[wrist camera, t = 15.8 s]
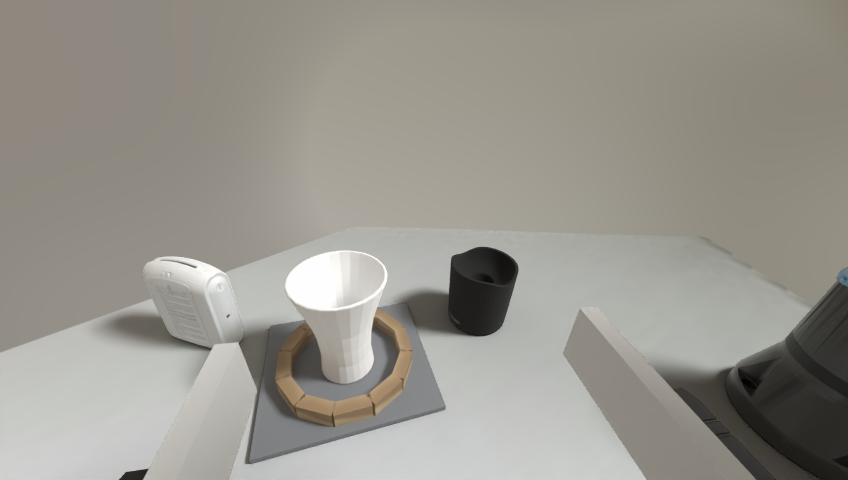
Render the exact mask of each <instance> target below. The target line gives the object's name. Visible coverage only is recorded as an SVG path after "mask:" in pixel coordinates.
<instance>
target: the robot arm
mask: <svg viewBox="0 0 848 480" xmlns="http://www.w3.org/2000/svg"><path fill="white" fill-rule="evenodd" d="M836 278H837V282H836V283H835V284H834V285H833V286H832V287H831V288H830V289H829V290H828V292H827V293H826V294H825V295H824V296H823V297H822V298H821V299H820V300H819V302H818V303H817V304H816V305H815V306H814V307H813V308H812V309H811V310H810V311H809V313H808V314H807V315H806V316H805V317H804V318H803V319H802V320H801V321H800V322H799V324H798V325H797V326H796V327H795V328H794V329H793V330H792V332H791V333H790V334H789V335H788V336H787V337H786V338H785V339H784V340H783V341H782V342H779V343H777V344H775V345H773V346H771V347H769V348H767V349H764V350H762V351H760V352H758V353H756V354H754V355H751V356H749V357H747V358H745V359H743V360H741V361H740V362H739V363H737V364H736V365H735V367H734V368H733V369H732V370H731V372H730V373H729V374H728V376H727V378H726V390H727V393H728V395H729V398H730V400H731V401H732V403H733V405H734V406H735V408H736V409H737V411H738V412H739V413H740V415H741V416H742V417H743V418H744V419H745V420H746V422H747V423H748V424H749V425H750V426H751V427H752V428H753V429H754V430H755V431H756V432H757V433H758V434H759V435H760V436H761V437H763V438H764V439H765V440H766V441H767V442H768V443H770V444H771V445H772V446H773V447H774V448H776V449H777V450H778V451H780V452H781V453H782V454H784V455H785V456H786V457H788V458H789V459H791V460H792V461H794V462H795V463H797V464H798V465H800V466H801V467H803V468H804V469H806V470H808V471H809V472H811V473H813V474H814V475H816V476H818V477H820V478H821V479H823V480H848V267H847V268H844V269H843V270H841V271H840V272H839V273H838V275H837V277H836ZM563 354H564V356H565V357H566V359H567V360H568V362H569V363H570V365H571V366H572V368H573V369H574V371H575V372H576V374H577V375H578V377H579V378H580V380H581V381H582V383H583V384H584V386H585V387H586V389H587V390H588V392H589V393H590V395H591V396H592V398H593V399H594V401H595V402H596V404H597V405H598V407H599V408H600V410H601V411H602V413H603V415H604V416H605V418H606V419H607V421H608V422H609V424H610V425H611V427H612V428H613V430H614V431H615V433H616V434H617V436H618V437H619V439H620V440H621V442H622V443H623V445H624V446H625V448H626V449H627V451H628V452H629V454H630V455H631V457H632V458H633V460H634V461H635V463H636V464H637V466H638V467H639V469H640V470H641V472H642V473H643V475H644V476H645V478H646V479H647V480H776V479H775V478H774V477H773V476H772V475H771V474H770V473H769V472H768V471H767V470H766V469H765V468H764V467H763V466H762V465H761V464H760V463H759V462H758V461H757V460H756V459H755V458H754V457H753V456H752V455H751V454H750V453H749V451H748V450H747V449H746V448H745V447H744V446H743V445H742V444H741V443H740V442H739V441H738V440H737V439H736V438H735V437H734V436H733V435H730V433H729V431H728V430H727V429H726V428H725V427H724V426H723V425H722V424H721V423H720V422H718V421H717V420H716V417H715V416H714V415H713V414H712V413H711V412H710V411H709V410H708V409H707V408H706V407H705V406H704V405H703V404H702V403H701V402H700V401H699V400H697V399H696V398H694V397H693V396H692V395H690V394H689V393H687V392H686V391H685V390H683V389H682V388H679V389H672V388H671V387H670V386H669V385H668V383H667V382H666V381H665V380H664V379H663V378H662V377H661V376H660V375H659V374H658V373H657V372H656V370H655V369H654V368H653V367H652V366H651V365H650V364H649V363H648V362H647V361H646V360H645V359H644V357H643V356H642V355H641V354H640V353H639V352H638V351H637V350H636V349H635V348H634V347H633V346H632V344H631V343H630V342H629V341H628V340H627V339H626V338H625V337H624V336H623V335H622V334H621V333H620V331H619V330H618V329H617V328H616V327H615V326H614V325H613V324H612V323H611V322H610V321H609V320H608V318H607V317H606V316H605V315H604V314H603V313H602V312H601V311H600V310H599V309H598V308H597V307H588V308H580V309H579V312H578V315H577V317H576V320H575V323H574V325H573V328H572V331H571V333H570V336H569V339H568V341H567V344H566V347H565V349H564V352H563ZM256 393H257V389H256V386H255V384H254V381H253V379H252V376H251V374H250V371H249V369H248V366H247V363H246V361H245V358H244V356H243V353H242V351H241V348H240V346H239V343H238V342H235V343H225V344H215V345H214V346H213V348H212V350H211V352H210V354H209V356H208V357H207V359H206V361H205V363H204V365H203V367H202V369H201V371H200V373H199V374H198V376H197V378H196V380H195V382H194V384H193V386H192V388H191V390H190V392H189V393H188V395H187V397H186V399H185V401H184V403H183V405H182V407H181V409H180V411H179V412H178V414H177V416H176V418H175V420H174V422H173V424H172V426H171V428H170V430H169V431H168V433H167V435H166V437H165V439H164V441H163V443H162V445H161V447H160V449H159V450H158V452H157V454H156V456H155V458H154V460H153V462H152V464H151V466H150V468H149V469H144V470H137V471H131V472H126V473H125V474H124V475H123V476H122V477H121V478H120V479H119V480H229V476H230V473H231V470H232V467H233V464H234V461H235V458H236V455H237V452H238V449H239V446H240V443H241V440H242V436H243V433H244V430H245V427H246V424H247V421H248V418H249V415H250V412H251V409H252V406H253V403H254V399H255V396H256Z"/></svg>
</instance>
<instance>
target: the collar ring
mask: <svg viewBox="0 0 848 480" xmlns="http://www.w3.org/2000/svg"><path fill="white" fill-rule="evenodd" d="M372 327H377V328H379V329H380V330H382V331H383V332H384V333H385V334H386V335H388V336H389V337H390V338H391V339H393V340H394V341H395V344H396V348H397V351H398V355H399V356H398V359H397V362H396V364H395V367H394V370H393V372H392V374H391V375H390V376H389V377H388V378H386V379H385V380H384V381H383V382H382V383H380V384H379V385H378V386H377V387H376V388H374V389H373V390H372V391H371V392H370V393H368V394H365V395H361V396H357V397H353V398H349V399H345V400H341V401H336V402H334V401H330V400H326V399H322V398H318V397H314V396H310V395H306V394H305V393H304V392H303V391H302V389H301V388H300V387H299V386H298V384H297V383H296V382H295V381H294V379H293V370H294V361H295V360H296V358H297V357H298V355H299V354H300V353H301V351H302V350H303V348H304V347H305V346H306V344H307V343H308V341H310V340H311V339H313V338H315V335H314V333H313V331H312V329H311V328H310V327H309V325H308V324H307V322H305V323H303V324H301V325H299V327H297V328H296V329H295V331H294V332H293V333H292V334H291V336H290V337H289V338H288V339H287V341H286V342H285V343H284V344H283V346H282V347H281V348H280V349H279V352H278V359H277V368H276V377H275V381H276V384H277V388H278V391H279V393H280V395H281V396H282V397H283V399H284V400H285V402H286V403H287V404H288V406H289V407H290V409H291V410H292V411H293V413H294V414H295V415H296V416H298V418H301V419H304V420H308V421H312V422H315V423H319V424H323V425H326V426H330V427H333V425H334V423H335V427H338V426H341V425H345V424H349V423H353V422H356V421H360V420H364V419H367V418H371V417H373V413H374V414H375V415H377V414H378V413H379V412H380V411H381V410H382V409H384V408H385V407H386V406H387V405H388V404H389V403H390V402H391V401H392V400H394V399H395V398H396V397H397V396H398V395H399V394H400V393H401V392H402V389H403V390H404V387H405V383H406V380H407V377H408V374H409V371H410V367H411V364H412V353H413V352H412V351H413V350H412V347H411V344H410V341H409V338H408V335H407V332H406V329H405V327H404V326H403V325H402V324H401V323H399V322H398V321H397V320H395V319H394V318H393V317H391V316H390V315H389V314H387V313H386V312H383V311H382V310H377V309H376V312H375V315H374V318H373V324H372Z"/></svg>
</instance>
